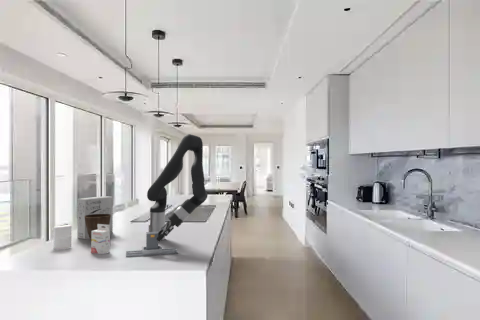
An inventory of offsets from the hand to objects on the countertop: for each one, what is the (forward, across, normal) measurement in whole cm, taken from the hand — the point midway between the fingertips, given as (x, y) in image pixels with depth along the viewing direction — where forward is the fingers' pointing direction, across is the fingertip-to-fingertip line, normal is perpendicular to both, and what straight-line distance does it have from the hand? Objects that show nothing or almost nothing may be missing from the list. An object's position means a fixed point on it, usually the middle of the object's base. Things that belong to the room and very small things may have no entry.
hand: (157, 238), depth 187 cm
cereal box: (+32, -57, -20) cm, 68 cm away
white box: (+41, -27, -30) cm, 58 cm away
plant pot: (+29, -37, -18) cm, 50 cm away
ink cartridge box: (+26, -9, -15) cm, 31 cm away
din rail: (+7, 0, +3) cm, 8 cm away
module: (+7, 0, +3) cm, 7 cm away
